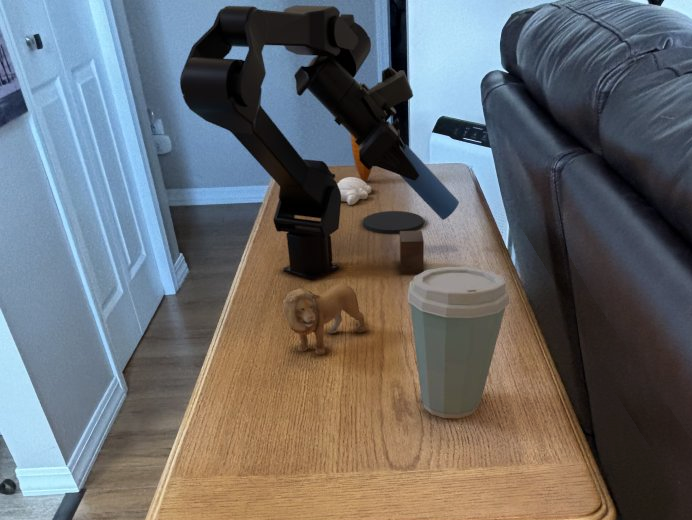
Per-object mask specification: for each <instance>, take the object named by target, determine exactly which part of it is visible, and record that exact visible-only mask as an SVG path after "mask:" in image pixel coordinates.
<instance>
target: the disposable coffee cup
mask: <svg viewBox="0 0 692 520" xmlns="http://www.w3.org/2000/svg"><path fill="white" fill-rule="evenodd" d="M408 285H409V286H408V287H409V288H408V290H407V302H408V303H409V306H410V316H411V324H412V331H413V340H414V349H415V356H416V365H417V373H418V382H419V388H420V391H419V392H420V399H421V403H422V404H423V408H424V409H425V410H426V411H427V412H429V414H431V415H434V416H436V417H440V418H443V419H462V418H466V417H468V416H471V415H473V414H474V413H475V412H476V411H477V410H478V407H479V405H480V404H481V403H482V399H483V395H484V392H485V387H486V383H487V380H488V376H489V372H490V368H491V365H492V361H493V356H494V354H495V349H496V345H497V341H498V338H499V335H500V330H501V326H502V323H503V318H504V315H505V312H506V307H508V306H509V305H510V292H509V287H508V285H507V283H506V281H505V278H504V276H503V275H500V274H498V273H496V272H493V271H491V270H487V269H482V268H478V267H471V266H442V267H437V268H431V269H426V270H423V272H422V273H420V274H417V275H416V274H415V276H414V277H413V279H412V280H411V281H410V282H409V284H408Z"/></svg>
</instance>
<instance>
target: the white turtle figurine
mask: <svg viewBox="0 0 692 520" xmlns="http://www.w3.org/2000/svg"><path fill="white" fill-rule="evenodd" d="M337 185H338V187H339V189H340V192H341V202H343V203H344V202H347V205H349V206H353V205H355V204H356V203H357V202H358V201H359V200H367V199H368V196H369V194H371V193H372V187H371V186H370V185H368V184H367V182H364V181H363V180H362V179H361V178H360V177H354V176H349V177H344V178H342V179H340V180H339V182H337Z"/></svg>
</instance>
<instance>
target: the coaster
mask: <svg viewBox="0 0 692 520" xmlns="http://www.w3.org/2000/svg"><path fill="white" fill-rule="evenodd" d="M424 222H425V221H424V217H422V216H421V215H419V214H416V213H414V212H410V211H402V210H400V211H399V210H391V211H390V210H387V211H380V212H375V213H372V214H369V215H367V216H365V217H364V218H363V220H362V225H363V227H364V228H365V229H367V230H369V231H371V232H374V233H379V234H381V233H382V234H400V231H418V229H420V228H422V227H423V226H424Z"/></svg>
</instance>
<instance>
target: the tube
mask: <svg viewBox="0 0 692 520" xmlns="http://www.w3.org/2000/svg"><path fill="white" fill-rule="evenodd" d="M401 148H402V149H403V151H404V152H405V154H406V155H407V157H408V158H409V160H410V161H411V163H412V164H413V166H414V167H415V169H416V171H417V172H418V174H419V177H418V178H417V179H416V180H415V181H414V180H411V179H409V178H406V177H404V176H401V175H399V176H400V177H401V178H402V179H403V181H405V183H406V184H407V185H409V186H410V188H411V189H412V190H413V191H414V192H415V193H416V194H417V195H418V196H419V197H420V198H421V199H422V200H423V201H424V202H425V203H426V204H427V205H428V207H429V208H430V209H431V210H432V211H433V212H434V213H435V214H436V215H437V216H438V217H439V218H440V219H441V220H442V221H444V220H446V219H448V218H449V217H450V216H451V215H452V214H453V213H454V212H455V211H456V209H457V208H458V206H459V203H460V201H459V200H458V199H457V197H456V196H454V194H453V193H452V192H451V191H450V190H449V189H448V188H447V186H445V184H444V183H443V182H442V181H441V180H440V179H439V178H438V177H437V176H436V175H435V174H434V173H433V171H432V170H431V169H430V168H429V167H428V166H427V165H426V164H425V163H424V162H423V160H422V159H420V158H419V156H418V155H417V154H416V153H415V152H414V151H413V150H412V149H411V147H410V146H409V145H407V144H404V146H403V147H401Z"/></svg>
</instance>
